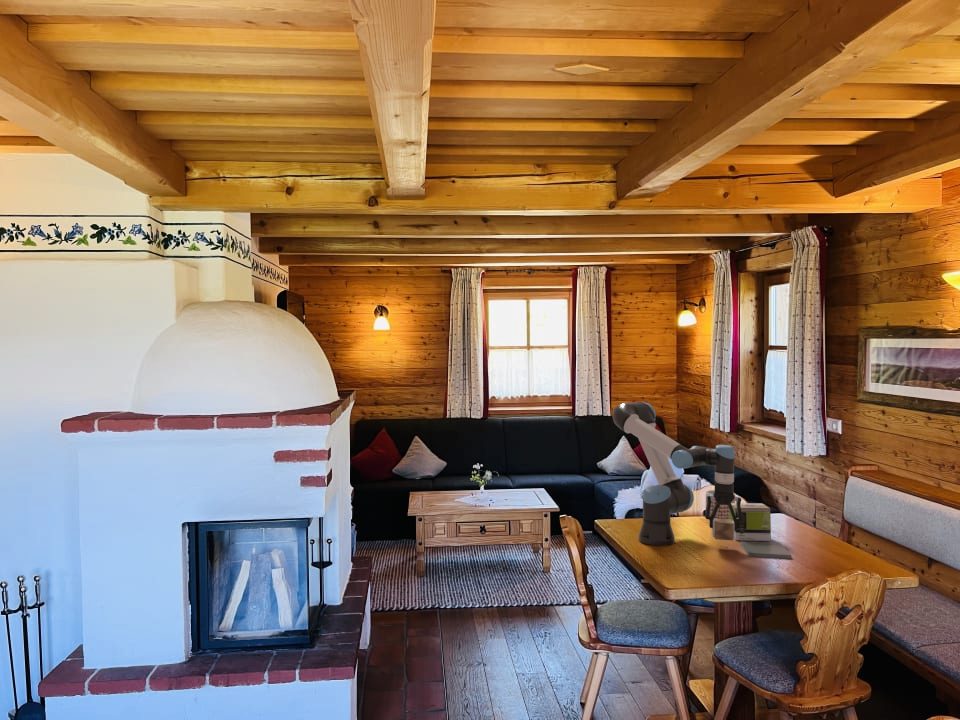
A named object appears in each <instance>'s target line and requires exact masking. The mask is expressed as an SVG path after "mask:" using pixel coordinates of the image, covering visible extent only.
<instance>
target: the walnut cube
mask: <svg viewBox="0 0 960 720" xmlns="http://www.w3.org/2000/svg"><path fill="white" fill-rule="evenodd" d="M714 521H715V537H713V538H714V539H715V540H720V541H721V540H723V541H734V538H733V526H734V524H733V522H732V521H731V519H718V518H714Z"/></svg>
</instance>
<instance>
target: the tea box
mask: <svg viewBox="0 0 960 720" xmlns="http://www.w3.org/2000/svg"><path fill="white" fill-rule="evenodd" d="M731 505H732V508H733V510H734V513H735V516H736V518H738V515H737V505H736V502H735V503H731ZM740 505H741V515H742V521H739V522H737V530H734V538H733V540H735V541H745V542H759V541H760V542H762V541H763V542H771V541H772V535H771V534H772V533H771V532H772V531H771V530H772V529H771V528H772V526H771V525H772V524H771V523H772V522H771V518H772V517H771V508H770V507H769V506H767V505H766V504H764V503H761V502H760V503H757V502H756V503H755V502H753V503H752V502H751V503H749V502H747V503H746V502H745V503H743V502H741V503H740ZM730 519H731V521H733V518H732V515H731V512H730Z"/></svg>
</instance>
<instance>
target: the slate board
mask: <svg viewBox="0 0 960 720" xmlns="http://www.w3.org/2000/svg"><path fill="white" fill-rule="evenodd" d="M740 546H741V547H742V549H743V550H744V552H745V553H746V555H747V556H748V557H751V558H752V557H753V558H755V557H756V558H768V559H769V558H770V559H771V558H772V559H787V560H788V559H790V560H791V559H792V554H791V553H790V552H789V550H787V549H786V547H784V545H783V544H781V543H774V542H759V541H740Z"/></svg>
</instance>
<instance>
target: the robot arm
mask: <svg viewBox="0 0 960 720" xmlns="http://www.w3.org/2000/svg"><path fill="white" fill-rule="evenodd" d="M656 417H657V414H656V410H655V408H654V407H653V406H652V405H651V404H650V403H648V402H645V401H636V402H623V403H620V404H618V405H616V407H614V409H613V411H612V421H613V423H614V424H615V426H617V427H618V428H619V429H620V430H621V431H623V432H625V433H626V434H632V435H633V436H634V437H636V438H638V441H639V442H640V445H641V447H642V450H643V453H644V455H645V456H646V458H647V461H648V463H649V466H650V469H651V470H652V472H653V475H654V477H655V479H656V481H657V484H656V485H650V486H646V487H644V489H643V491H642V525H641V527H640V530H639V533H638V541H639V542H641V543H643V544H646V545H651V546H671V545H674V544H675V534H674V531H673V527H672V525H671V515H674V514H678V513H683V512H685V511H688V510H689V509H691V507H693V506H692V505H693V504H694V500H695V497H694V492H693V490H692V488H691V487H690V486H688V485H687V484H685V483H683V479H682V478H680V477H678V476H677V475H676V473H675V471H674V469H673V467H672V465H673V466H674V467H675V468H677V469H690V468H694V467H700V466H709V467H714V490H715V492H714V494H713V495H707V507H706V506H705V513H704V514H705V515H704V518H705V519H706V520H707V521H709V528H710V529H711V536H712V537H713V538H714V537H715V521H714V517H715V515H716V513H717V510H718V508H719V506H720V505H728V507H729V510H730V512H731V515H732V518H733V521H732V522H733V524H734V526H733V539H734V530H737V522H739V521H742V515H741V505H740V503H742V498H741V497H740V496H737V495H735V496H734V494H735V493H734V492H735V489H734V487H735V484H734V482H735V459H736V456H735V455H736V454H735V448H734V447H733V446H732V445H727V444H717V445H716V446H715V448H712V447H706V446H702V445H693V446H691V448H687V447H685V446H683V445H682V444H681V443H679V442H677V441H675V440H674V439H673V438H671V437H669V436H668V435H666V434H664V433H663V432H661V431H659V430H658V429H656V426H657V424H656ZM669 459H670V460H671V462H670V460H669ZM671 463H672V465H671ZM713 498H715V500H716V503H715V506H714V508H713V511H712V513H711V515H710V516H709V514H710V507H711V500H713ZM734 499H735V503H736V505H737V515H738V518H736V516H735V513H734V510H733V508H732V505H731V502H732V501H733V500H734Z"/></svg>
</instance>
